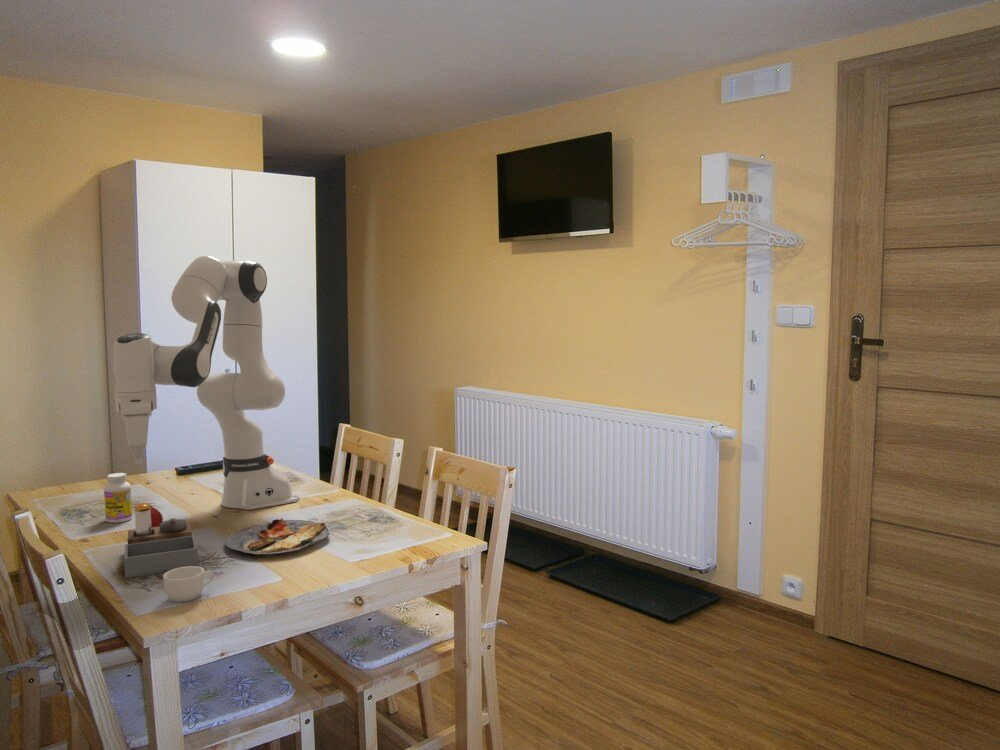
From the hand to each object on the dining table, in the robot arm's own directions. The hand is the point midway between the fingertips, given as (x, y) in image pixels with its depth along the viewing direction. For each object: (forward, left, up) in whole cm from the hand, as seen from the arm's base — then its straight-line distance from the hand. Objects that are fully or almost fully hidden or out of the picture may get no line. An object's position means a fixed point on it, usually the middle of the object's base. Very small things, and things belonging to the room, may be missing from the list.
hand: (139, 460), depth 180 cm
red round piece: (-2, -15, -23) cm, 28 cm away
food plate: (-31, +6, -24) cm, 39 cm away
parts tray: (-4, +11, -23) cm, 26 cm away
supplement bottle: (+6, -33, -23) cm, 41 cm away
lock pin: (0, 0, -23) cm, 23 cm away
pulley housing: (-4, 0, -23) cm, 23 cm away
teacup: (-9, +33, -23) cm, 41 cm away
